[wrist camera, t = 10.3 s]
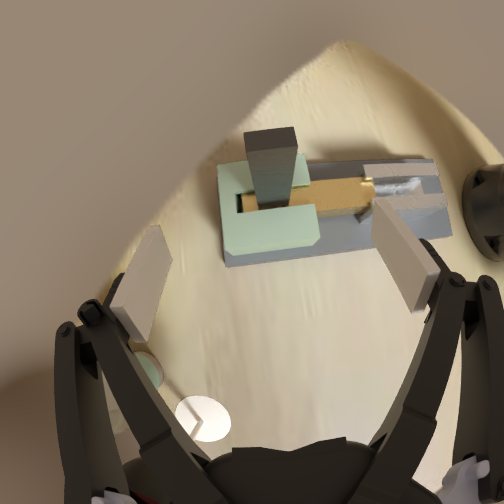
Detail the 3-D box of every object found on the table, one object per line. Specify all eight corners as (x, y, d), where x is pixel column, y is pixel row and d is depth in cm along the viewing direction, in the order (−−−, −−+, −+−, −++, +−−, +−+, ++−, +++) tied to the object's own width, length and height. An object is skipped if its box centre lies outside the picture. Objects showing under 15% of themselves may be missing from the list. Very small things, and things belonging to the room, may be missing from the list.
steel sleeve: (417, 178, 30) (435, 163, 25) (426, 216, 29) (448, 205, 24) (350, 182, 30) (362, 164, 25) (359, 223, 30) (374, 212, 25)
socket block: (300, 173, 31) (304, 153, 26) (312, 245, 30) (320, 237, 25) (225, 183, 32) (216, 164, 27) (233, 255, 31) (224, 249, 25)
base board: (427, 163, 31) (432, 159, 30) (446, 237, 30) (452, 235, 28) (219, 180, 33) (216, 176, 32) (227, 267, 32) (225, 266, 30)
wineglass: (246, 431, 29) (218, 546, 9) (192, 449, 29) (135, 545, 9) (214, 384, 30) (147, 482, 11) (160, 405, 30) (73, 485, 11)
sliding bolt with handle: (362, 186, 29) (420, 115, 14) (368, 212, 29) (436, 154, 14) (244, 199, 30) (217, 125, 15) (247, 227, 30) (221, 170, 15)
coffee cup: (122, 395, 31) (71, 426, 19) (115, 338, 32) (56, 354, 20) (176, 404, 30) (136, 448, 18) (170, 343, 31) (121, 368, 19)
